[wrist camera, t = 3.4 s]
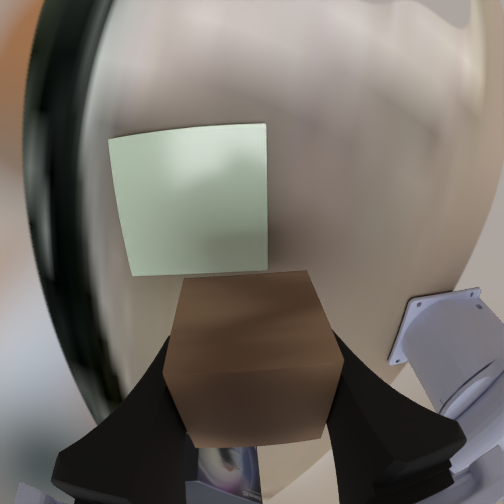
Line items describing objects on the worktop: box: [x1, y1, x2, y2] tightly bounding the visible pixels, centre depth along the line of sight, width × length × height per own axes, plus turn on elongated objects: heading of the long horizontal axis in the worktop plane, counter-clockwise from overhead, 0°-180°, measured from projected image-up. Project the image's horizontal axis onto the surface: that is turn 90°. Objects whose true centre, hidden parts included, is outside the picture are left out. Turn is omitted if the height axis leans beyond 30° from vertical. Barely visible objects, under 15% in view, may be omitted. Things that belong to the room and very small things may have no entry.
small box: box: [185, 430, 263, 504], centre depth 23 cm, size 11×6×10 cm, turn 29°
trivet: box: [108, 123, 268, 276], centre depth 17 cm, size 9×9×1 cm
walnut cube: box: [163, 270, 344, 448], centre depth 11 cm, size 5×5×5 cm
